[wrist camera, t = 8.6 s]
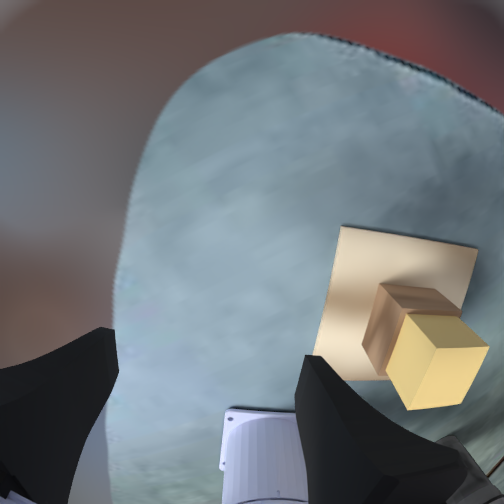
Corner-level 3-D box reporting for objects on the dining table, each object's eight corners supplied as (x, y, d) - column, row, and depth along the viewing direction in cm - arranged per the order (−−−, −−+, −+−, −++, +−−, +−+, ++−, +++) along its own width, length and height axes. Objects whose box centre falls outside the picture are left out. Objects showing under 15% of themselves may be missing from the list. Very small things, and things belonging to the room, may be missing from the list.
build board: (431, 375, 24) (432, 377, 24) (306, 376, 24) (307, 379, 23) (475, 248, 21) (478, 249, 20) (340, 225, 20) (342, 227, 20)
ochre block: (435, 368, 19) (460, 403, 15) (385, 370, 18) (407, 410, 15) (456, 316, 17) (489, 346, 14) (406, 313, 17) (436, 348, 13)
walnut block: (415, 345, 23) (437, 373, 19) (361, 344, 22) (378, 376, 19) (435, 288, 21) (462, 311, 17) (379, 283, 21) (402, 308, 17)
